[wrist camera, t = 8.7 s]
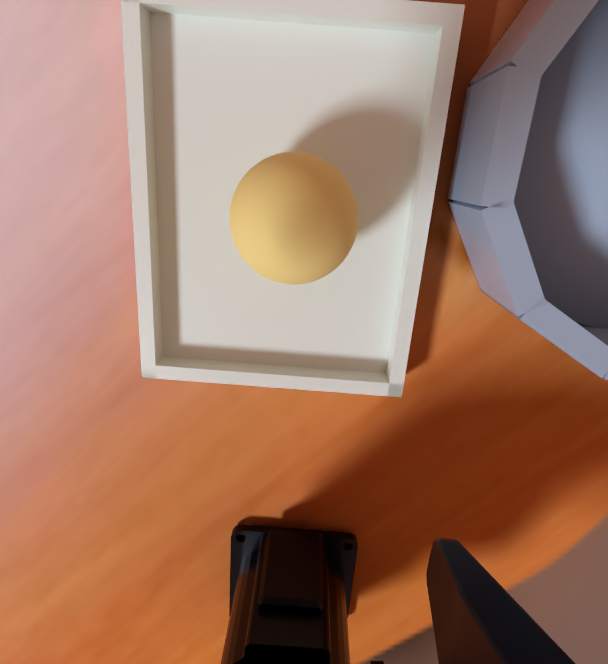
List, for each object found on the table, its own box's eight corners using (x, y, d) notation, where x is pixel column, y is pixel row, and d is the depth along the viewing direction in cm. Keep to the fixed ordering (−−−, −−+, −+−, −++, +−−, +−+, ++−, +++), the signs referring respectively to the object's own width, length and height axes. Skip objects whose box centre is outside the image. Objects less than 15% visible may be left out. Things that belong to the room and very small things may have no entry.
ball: (331, 270, 19) (369, 299, 15) (224, 268, 18) (234, 299, 14) (341, 157, 17) (387, 156, 13) (225, 148, 16) (237, 143, 12)
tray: (395, 380, 21) (401, 397, 19) (154, 362, 21) (141, 377, 19) (451, 20, 16) (465, 4, 14) (138, -4, 16) (119, -22, 14)
